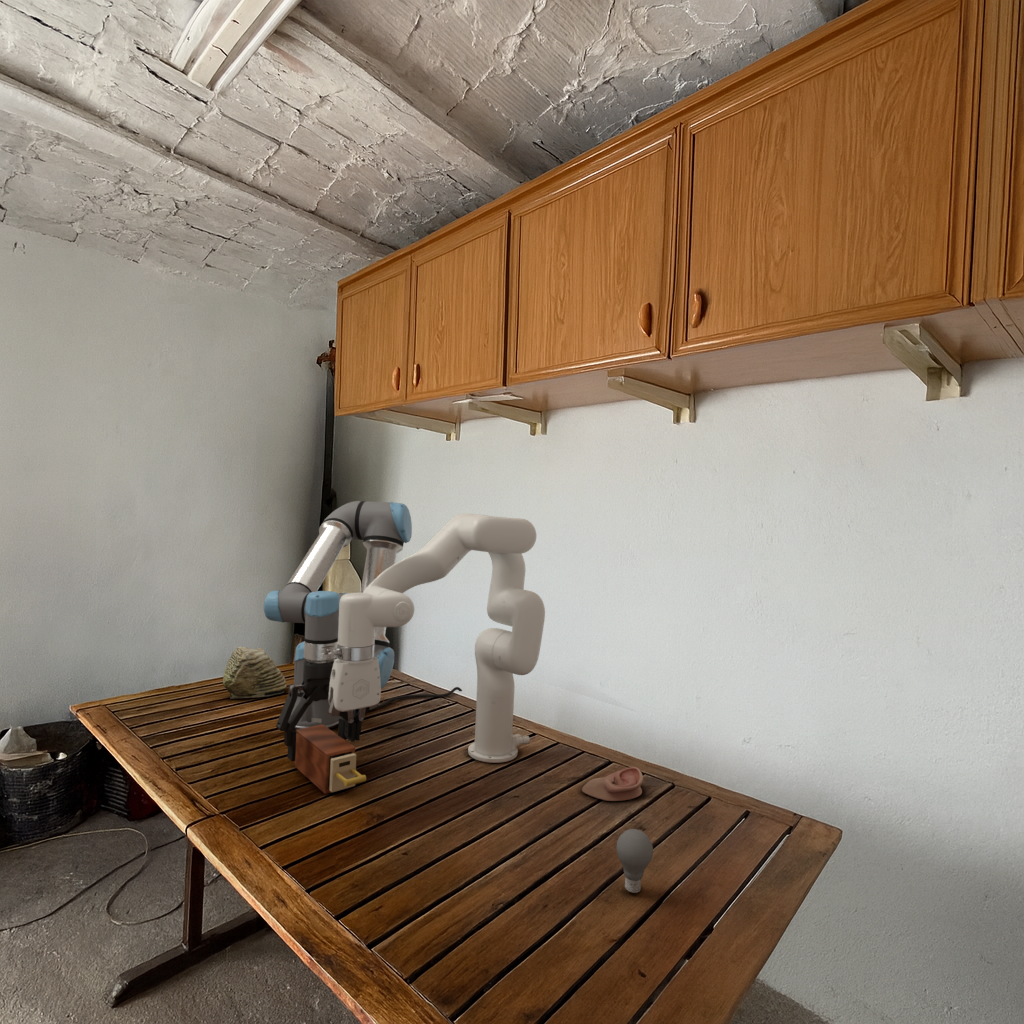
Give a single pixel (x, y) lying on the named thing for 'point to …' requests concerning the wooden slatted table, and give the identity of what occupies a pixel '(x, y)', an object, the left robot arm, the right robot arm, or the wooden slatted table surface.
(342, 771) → the drawer
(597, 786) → the anatomical model
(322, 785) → the cabinet
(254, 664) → the fossil
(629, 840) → the light bulb
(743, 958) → the wooden slatted table surface
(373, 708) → the left robot arm
